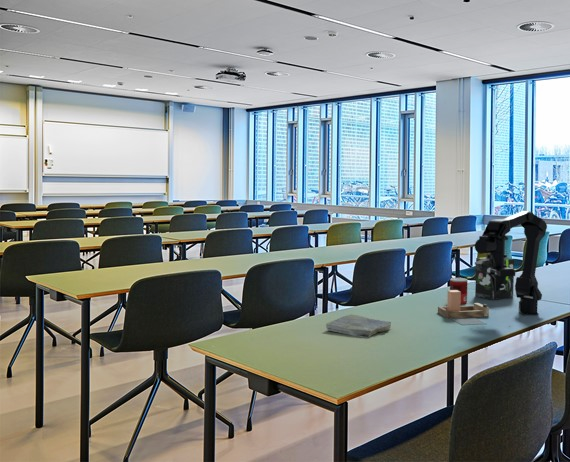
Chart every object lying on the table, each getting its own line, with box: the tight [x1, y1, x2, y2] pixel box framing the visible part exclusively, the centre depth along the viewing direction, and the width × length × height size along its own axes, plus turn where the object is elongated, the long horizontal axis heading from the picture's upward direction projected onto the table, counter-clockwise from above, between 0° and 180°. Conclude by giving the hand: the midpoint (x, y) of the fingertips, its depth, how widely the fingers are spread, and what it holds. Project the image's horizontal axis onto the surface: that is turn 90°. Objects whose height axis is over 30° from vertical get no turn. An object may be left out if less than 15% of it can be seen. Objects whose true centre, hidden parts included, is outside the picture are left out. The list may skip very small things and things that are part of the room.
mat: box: [451, 317, 487, 326], centre depth 236 cm, size 10×10×1 cm
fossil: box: [325, 314, 392, 339], centre depth 226 cm, size 20×5×17 cm
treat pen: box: [437, 304, 485, 319], centre depth 253 cm, size 17×22×3 cm
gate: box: [473, 302, 490, 317], centre depth 249 cm, size 2×9×4 cm, turn 8°
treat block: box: [446, 289, 462, 311], centre depth 247 cm, size 4×4×10 cm
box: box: [474, 256, 515, 301], centre depth 286 cm, size 14×12×19 cm
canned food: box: [449, 277, 468, 305], centre depth 273 cm, size 8×8×11 cm
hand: (496, 290), depth 239 cm, fingers closed
